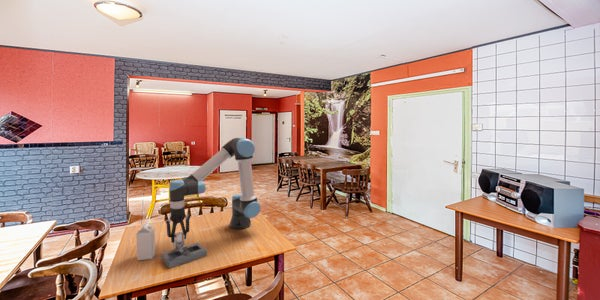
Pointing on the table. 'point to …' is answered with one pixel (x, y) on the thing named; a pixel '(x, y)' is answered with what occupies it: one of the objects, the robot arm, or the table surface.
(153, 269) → the table surface
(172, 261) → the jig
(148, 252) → the milk carton
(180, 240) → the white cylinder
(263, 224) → the table surface
